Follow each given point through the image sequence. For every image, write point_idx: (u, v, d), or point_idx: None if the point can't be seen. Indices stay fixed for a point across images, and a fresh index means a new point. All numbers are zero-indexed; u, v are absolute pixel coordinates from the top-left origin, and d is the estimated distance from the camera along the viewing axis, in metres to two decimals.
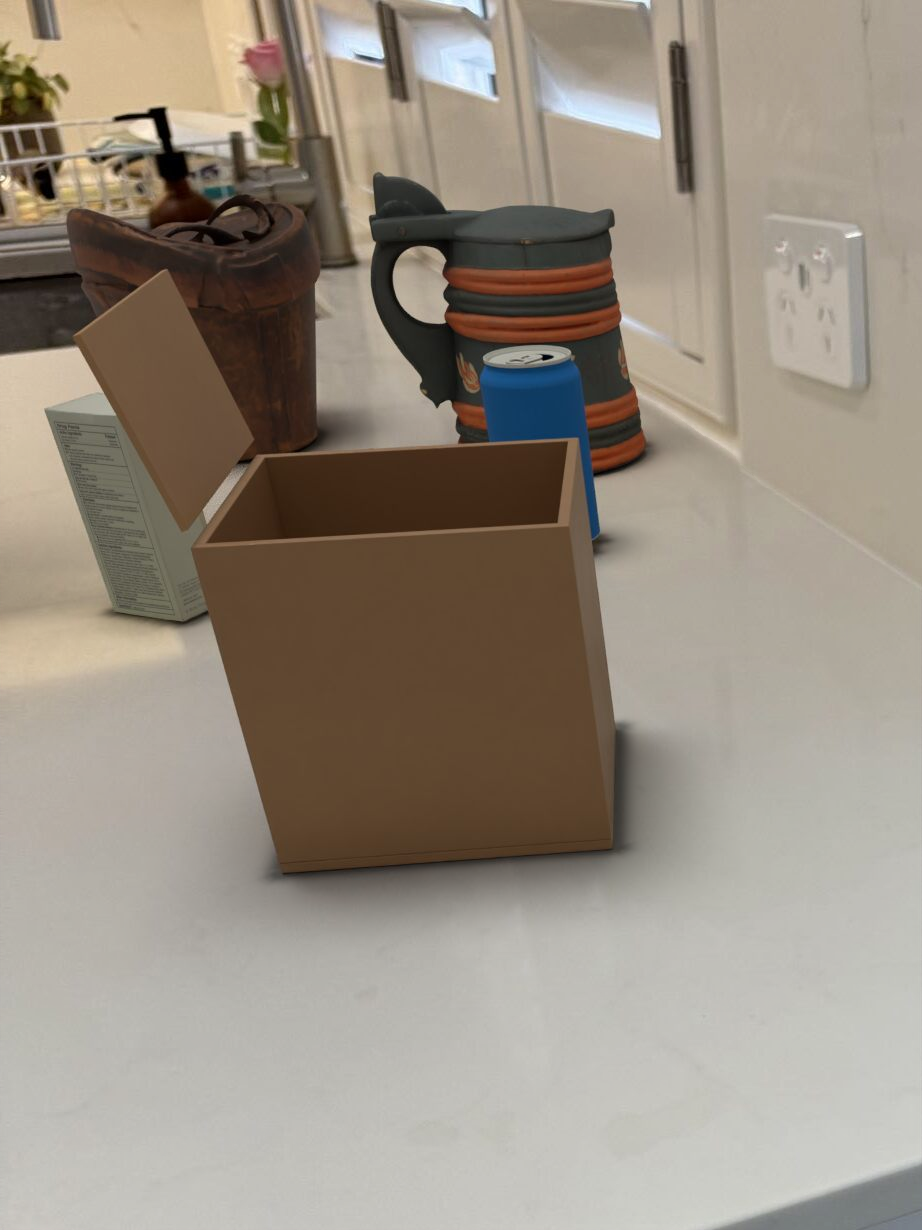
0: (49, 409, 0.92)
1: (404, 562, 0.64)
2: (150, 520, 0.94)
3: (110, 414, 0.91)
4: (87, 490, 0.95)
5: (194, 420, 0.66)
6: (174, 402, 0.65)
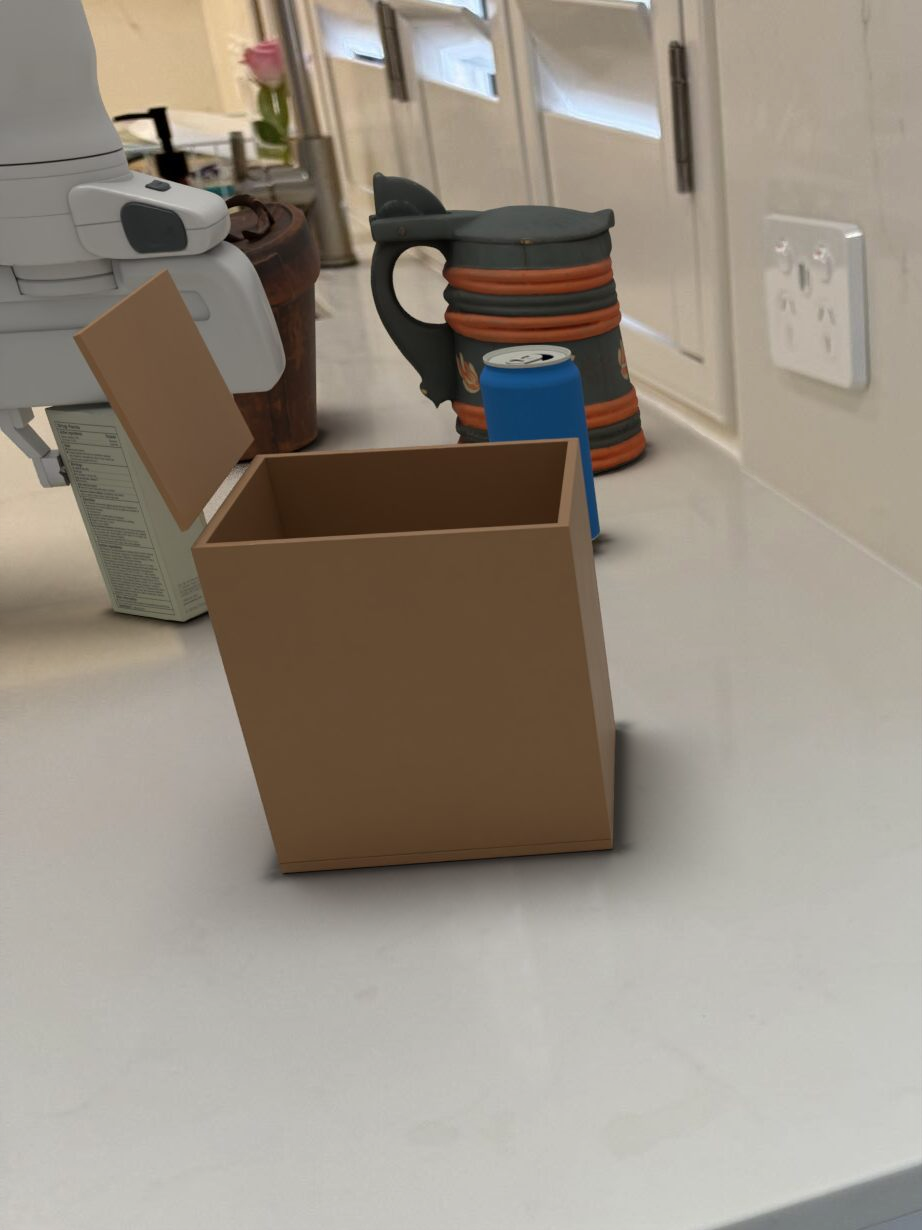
0: (49, 409, 0.92)
1: (404, 562, 0.64)
2: (150, 520, 0.94)
3: (110, 414, 0.91)
4: (87, 490, 0.95)
5: (194, 420, 0.66)
6: (174, 402, 0.65)
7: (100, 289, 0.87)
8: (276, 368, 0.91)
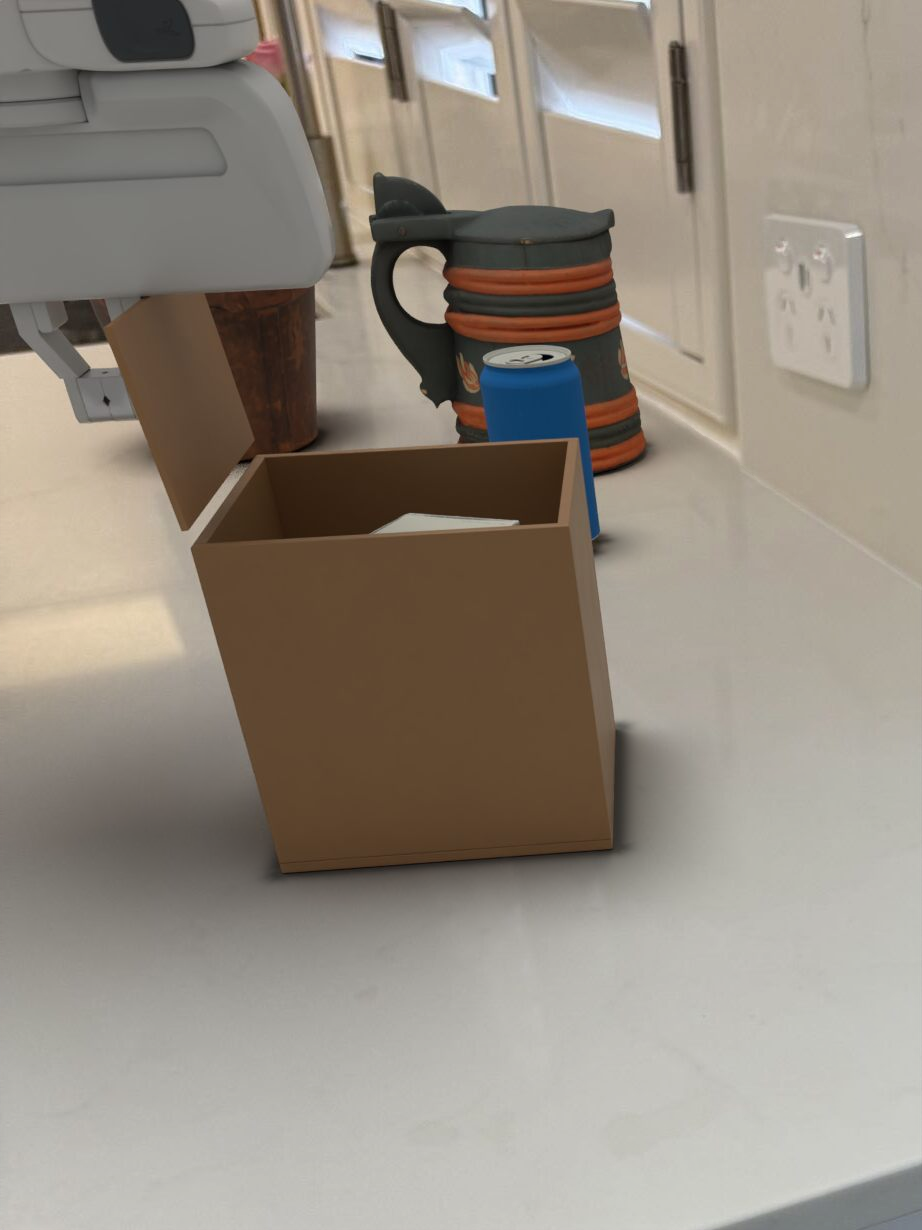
0: None
1: (404, 562, 0.64)
2: None
3: None
4: None
5: (204, 418, 0.66)
6: (187, 399, 0.65)
7: (61, 121, 0.57)
8: (323, 253, 0.62)
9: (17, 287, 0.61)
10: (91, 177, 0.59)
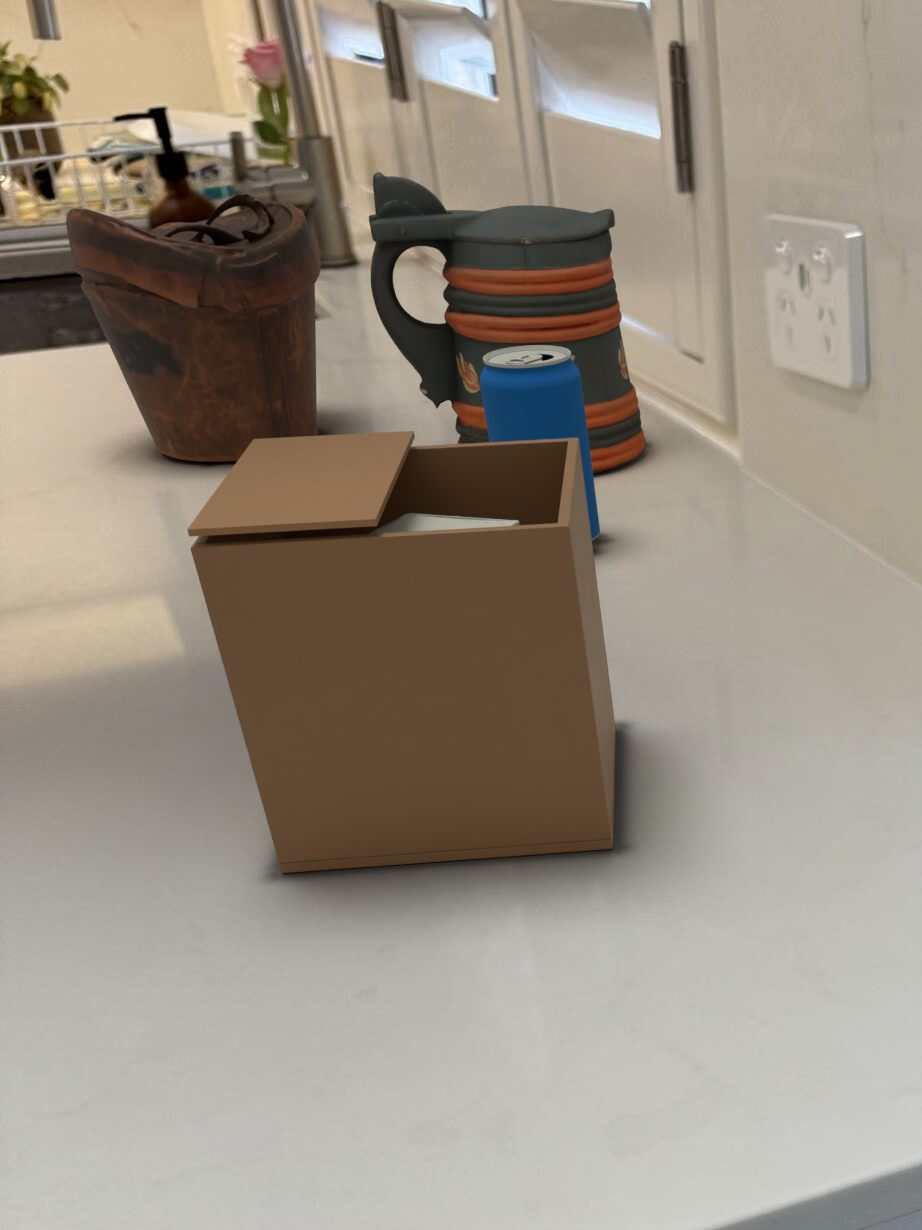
0: None
1: (404, 562, 0.64)
2: None
3: None
4: None
5: None
6: None
7: None
8: None
9: None
10: None
